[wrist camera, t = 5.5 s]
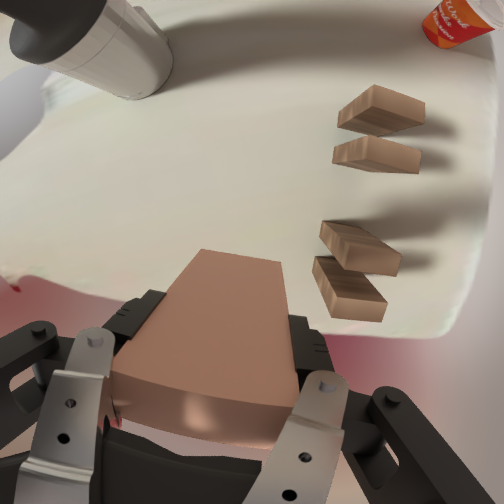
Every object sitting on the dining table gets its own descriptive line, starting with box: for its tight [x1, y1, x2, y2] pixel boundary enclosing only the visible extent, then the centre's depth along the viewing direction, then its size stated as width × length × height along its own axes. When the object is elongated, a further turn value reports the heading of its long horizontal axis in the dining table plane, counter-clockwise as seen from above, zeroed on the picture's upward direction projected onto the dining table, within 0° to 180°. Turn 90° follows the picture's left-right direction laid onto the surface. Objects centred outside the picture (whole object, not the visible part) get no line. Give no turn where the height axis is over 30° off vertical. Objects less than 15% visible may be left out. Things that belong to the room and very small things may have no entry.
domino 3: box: [332, 135, 422, 174], centre depth 25 cm, size 2×5×12 cm, turn 82°
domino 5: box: [312, 256, 388, 322], centre depth 29 cm, size 2×5×12 cm, turn 82°
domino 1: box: [111, 249, 300, 449], centre depth 12 cm, size 2×5×12 cm, turn 81°
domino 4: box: [319, 221, 402, 277], centre depth 28 cm, size 2×5×12 cm, turn 82°
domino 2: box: [337, 85, 425, 137], centre depth 24 cm, size 2×5×12 cm, turn 82°
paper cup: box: [422, 0, 504, 49], centre depth 18 cm, size 8×8×14 cm
